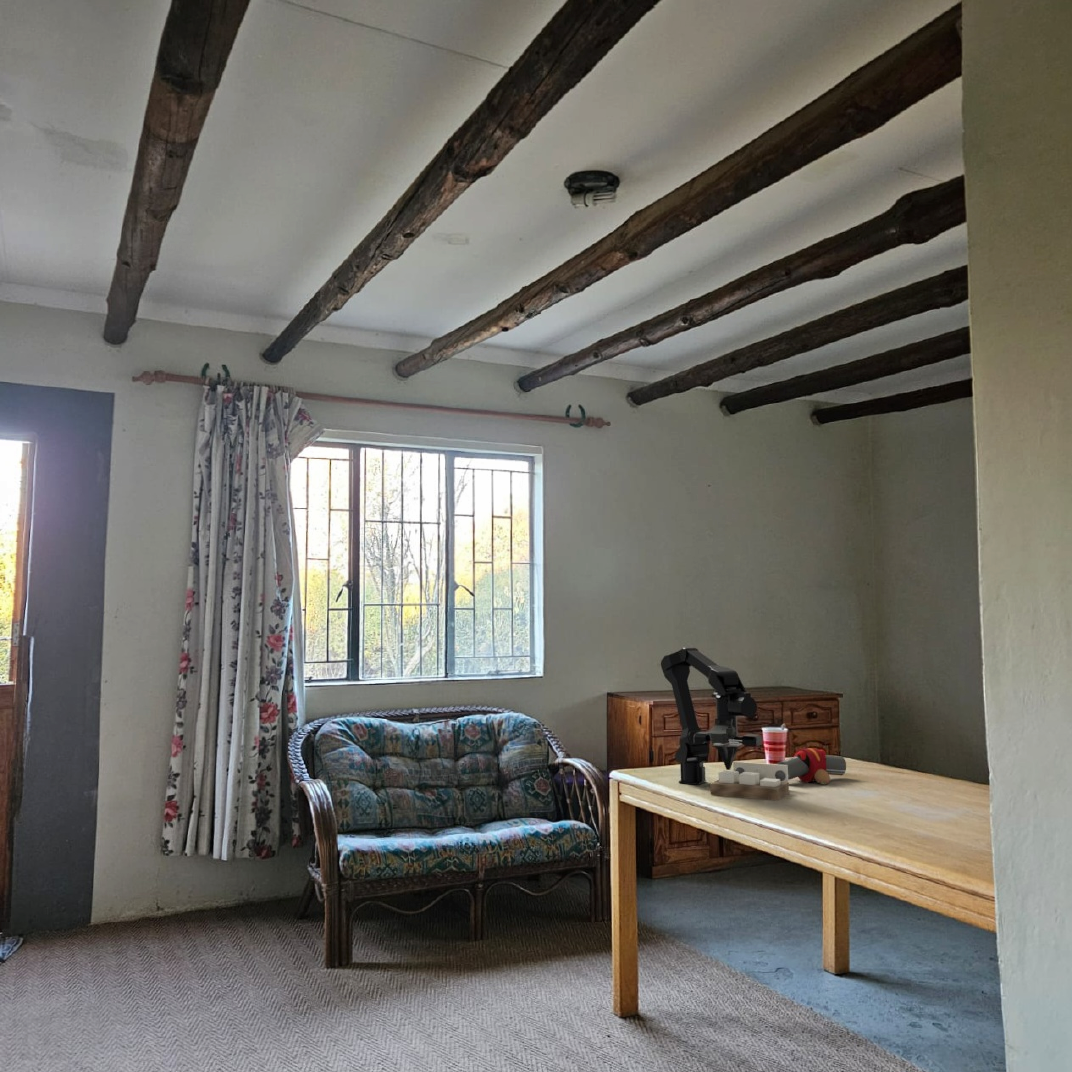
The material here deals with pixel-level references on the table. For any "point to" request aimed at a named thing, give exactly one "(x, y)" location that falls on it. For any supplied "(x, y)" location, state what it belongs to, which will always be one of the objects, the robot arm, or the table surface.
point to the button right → (770, 782)
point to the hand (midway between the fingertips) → (728, 769)
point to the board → (750, 790)
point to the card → (763, 770)
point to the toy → (814, 765)
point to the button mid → (749, 778)
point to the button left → (729, 777)
